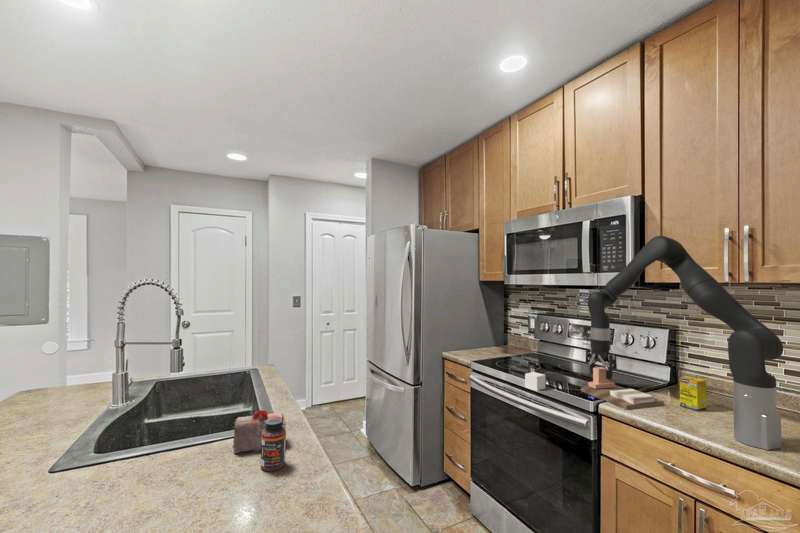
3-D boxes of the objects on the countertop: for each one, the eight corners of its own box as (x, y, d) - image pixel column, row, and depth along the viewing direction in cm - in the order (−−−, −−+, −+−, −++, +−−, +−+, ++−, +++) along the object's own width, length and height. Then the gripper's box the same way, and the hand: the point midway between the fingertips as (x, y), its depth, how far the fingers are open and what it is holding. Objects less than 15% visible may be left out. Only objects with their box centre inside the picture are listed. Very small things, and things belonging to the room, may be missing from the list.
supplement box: (679, 406, 138) (679, 377, 138) (688, 404, 140) (688, 375, 141) (697, 411, 132) (697, 381, 133) (706, 409, 135) (706, 379, 135)
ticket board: (663, 405, 139) (663, 395, 139) (626, 409, 134) (626, 399, 134) (615, 387, 160) (614, 379, 160) (581, 391, 155) (581, 382, 155)
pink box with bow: (283, 436, 110) (283, 403, 110) (286, 448, 102) (287, 412, 103) (233, 445, 104) (233, 410, 104) (232, 457, 97) (233, 420, 97)
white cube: (537, 391, 155) (537, 376, 155) (525, 387, 160) (525, 373, 160) (545, 388, 159) (545, 374, 159) (533, 385, 164) (533, 371, 164)
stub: (614, 387, 156) (614, 368, 156) (595, 388, 153) (595, 370, 153) (607, 384, 159) (607, 366, 160) (588, 386, 157) (588, 367, 157)
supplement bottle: (261, 474, 89) (261, 427, 89) (259, 462, 94) (260, 418, 94) (286, 469, 91) (287, 423, 91) (284, 458, 97) (284, 415, 97)
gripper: (621, 340, 151) (621, 380, 151) (594, 335, 165) (594, 371, 164) (606, 341, 149) (607, 381, 149) (580, 335, 163) (580, 372, 162)
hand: (600, 376), depth 157 cm, fingers open, 8 cm apart
